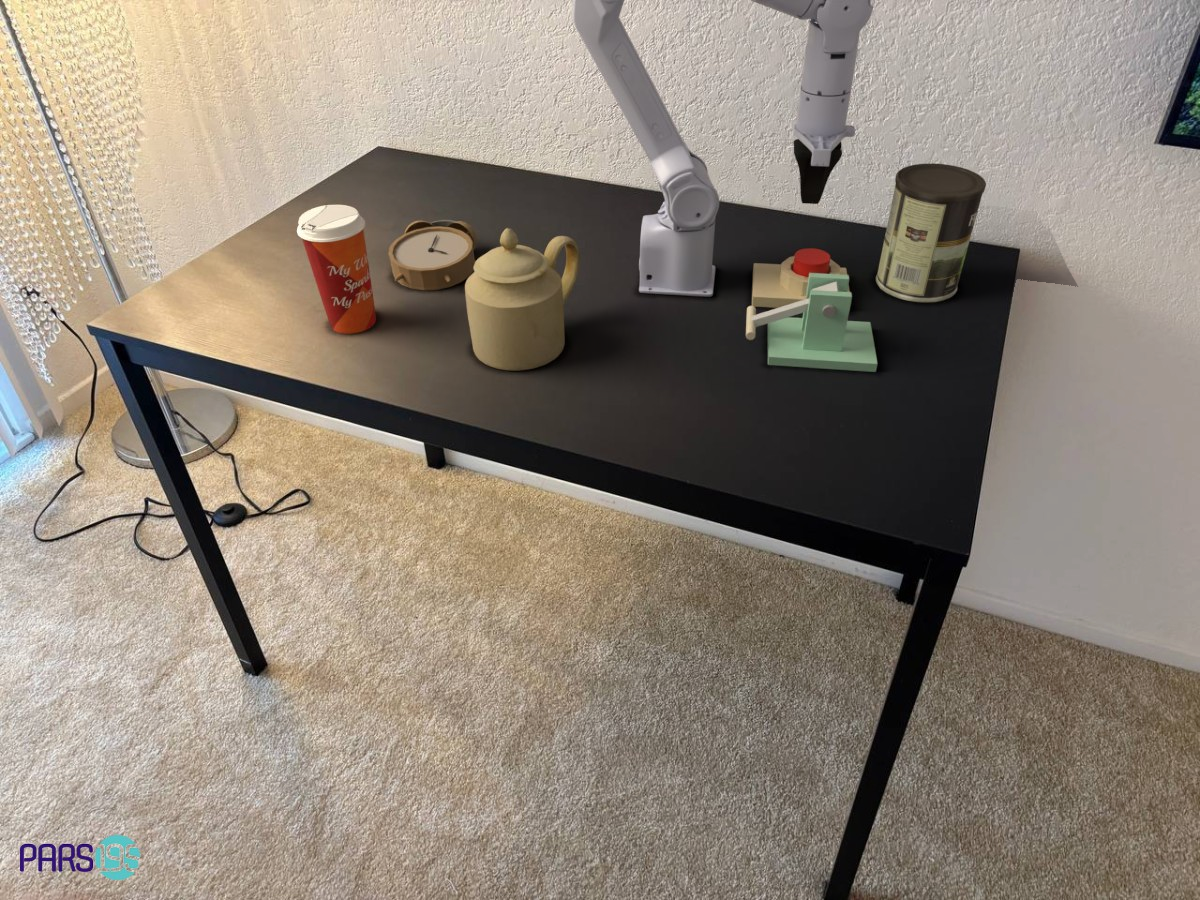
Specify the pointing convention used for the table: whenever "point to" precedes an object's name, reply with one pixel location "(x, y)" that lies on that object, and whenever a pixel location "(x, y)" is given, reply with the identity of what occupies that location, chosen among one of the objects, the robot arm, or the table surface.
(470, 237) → the alarm clock
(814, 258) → the red button
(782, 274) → the button housing
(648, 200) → the table surface
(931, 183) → the coffee can
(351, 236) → the paper cup
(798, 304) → the lever
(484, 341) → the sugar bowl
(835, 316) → the bracket
